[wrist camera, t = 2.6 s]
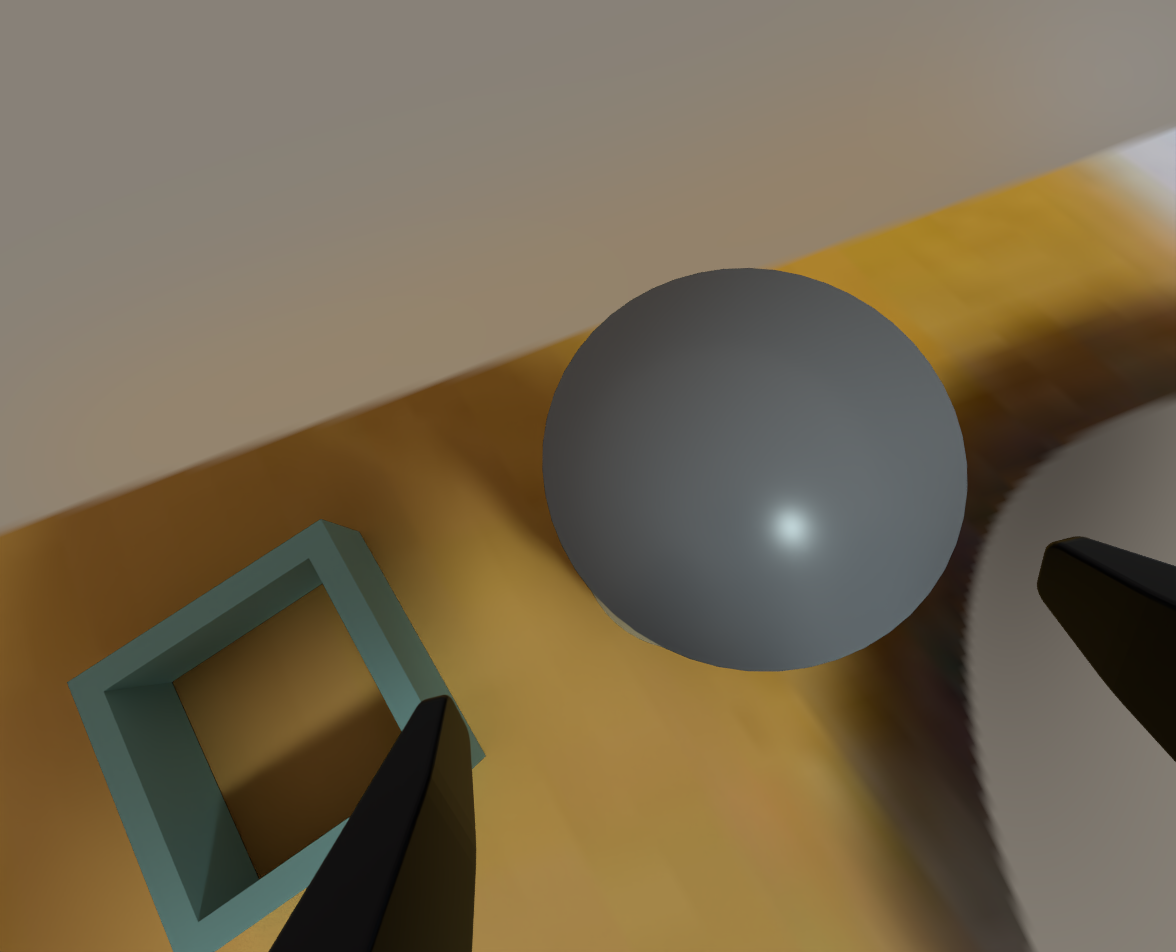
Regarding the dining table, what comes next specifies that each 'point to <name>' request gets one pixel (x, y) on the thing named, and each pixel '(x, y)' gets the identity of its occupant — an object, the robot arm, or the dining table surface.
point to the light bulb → (754, 470)
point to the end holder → (174, 757)
